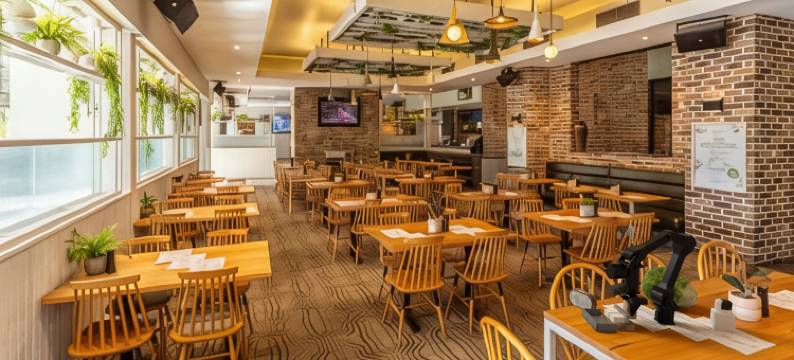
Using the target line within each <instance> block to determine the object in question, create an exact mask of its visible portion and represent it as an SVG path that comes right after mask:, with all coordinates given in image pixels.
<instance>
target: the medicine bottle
mask: <svg viewBox="0 0 794 360" xmlns="http://www.w3.org/2000/svg"><path fill="white" fill-rule="evenodd" d="M733 305H734V304H733V302H732V301H731V300H729V299H724V298H717V299H715V300H714V307H711V309H710V317H709V318H710V319H709V320H710V321H709V324H710V325H711V327H712V328H713V330H714V331H719V330H720V332H728V331H729V332H730V333H735V330H736V317H737V316H736V314H735V313H733Z"/></svg>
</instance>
